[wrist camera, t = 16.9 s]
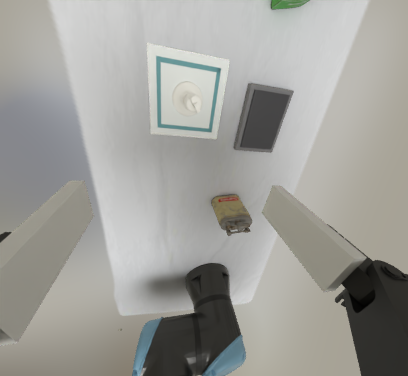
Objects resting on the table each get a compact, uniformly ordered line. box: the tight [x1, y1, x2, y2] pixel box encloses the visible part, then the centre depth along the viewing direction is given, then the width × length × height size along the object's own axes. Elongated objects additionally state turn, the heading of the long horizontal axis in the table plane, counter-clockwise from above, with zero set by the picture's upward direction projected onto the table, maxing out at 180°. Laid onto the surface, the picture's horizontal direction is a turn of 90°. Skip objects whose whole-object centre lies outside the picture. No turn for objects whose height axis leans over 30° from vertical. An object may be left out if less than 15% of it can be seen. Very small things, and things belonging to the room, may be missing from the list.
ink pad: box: [234, 84, 294, 152], centre depth 30 cm, size 11×8×2 cm
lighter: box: [212, 195, 252, 236], centre depth 35 cm, size 7×4×10 cm, turn 89°
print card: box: [147, 43, 230, 139], centre depth 26 cm, size 12×12×1 cm
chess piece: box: [172, 81, 203, 116], centre depth 22 cm, size 5×5×10 cm
